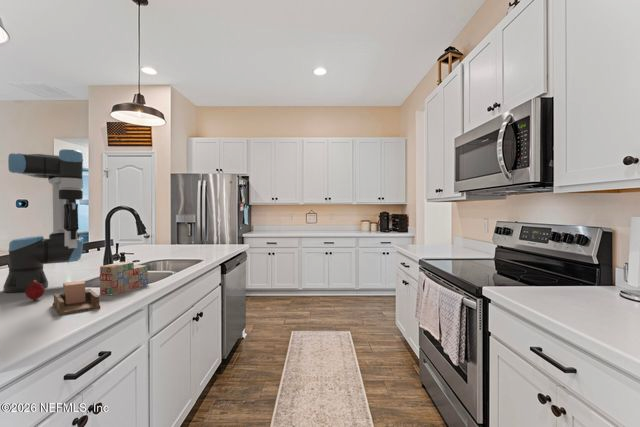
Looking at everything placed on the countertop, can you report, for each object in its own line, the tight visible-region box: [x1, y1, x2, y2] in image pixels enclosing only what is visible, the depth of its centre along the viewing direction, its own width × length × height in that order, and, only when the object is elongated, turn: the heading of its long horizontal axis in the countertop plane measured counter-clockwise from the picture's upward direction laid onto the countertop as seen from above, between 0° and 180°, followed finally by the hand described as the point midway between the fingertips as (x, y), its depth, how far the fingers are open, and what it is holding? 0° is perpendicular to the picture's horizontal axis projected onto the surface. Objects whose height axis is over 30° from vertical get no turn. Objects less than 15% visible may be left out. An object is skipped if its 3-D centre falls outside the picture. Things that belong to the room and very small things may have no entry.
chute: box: [52, 288, 101, 317], centre depth 123 cm, size 16×12×4 cm
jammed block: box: [62, 280, 87, 305], centre depth 126 cm, size 6×6×7 cm
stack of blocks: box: [99, 261, 149, 296], centre depth 151 cm, size 21×6×12 cm, turn 168°
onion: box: [24, 280, 46, 301], centre depth 131 cm, size 6×6×8 cm
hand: (70, 246), depth 131 cm, fingers open, 8 cm apart
